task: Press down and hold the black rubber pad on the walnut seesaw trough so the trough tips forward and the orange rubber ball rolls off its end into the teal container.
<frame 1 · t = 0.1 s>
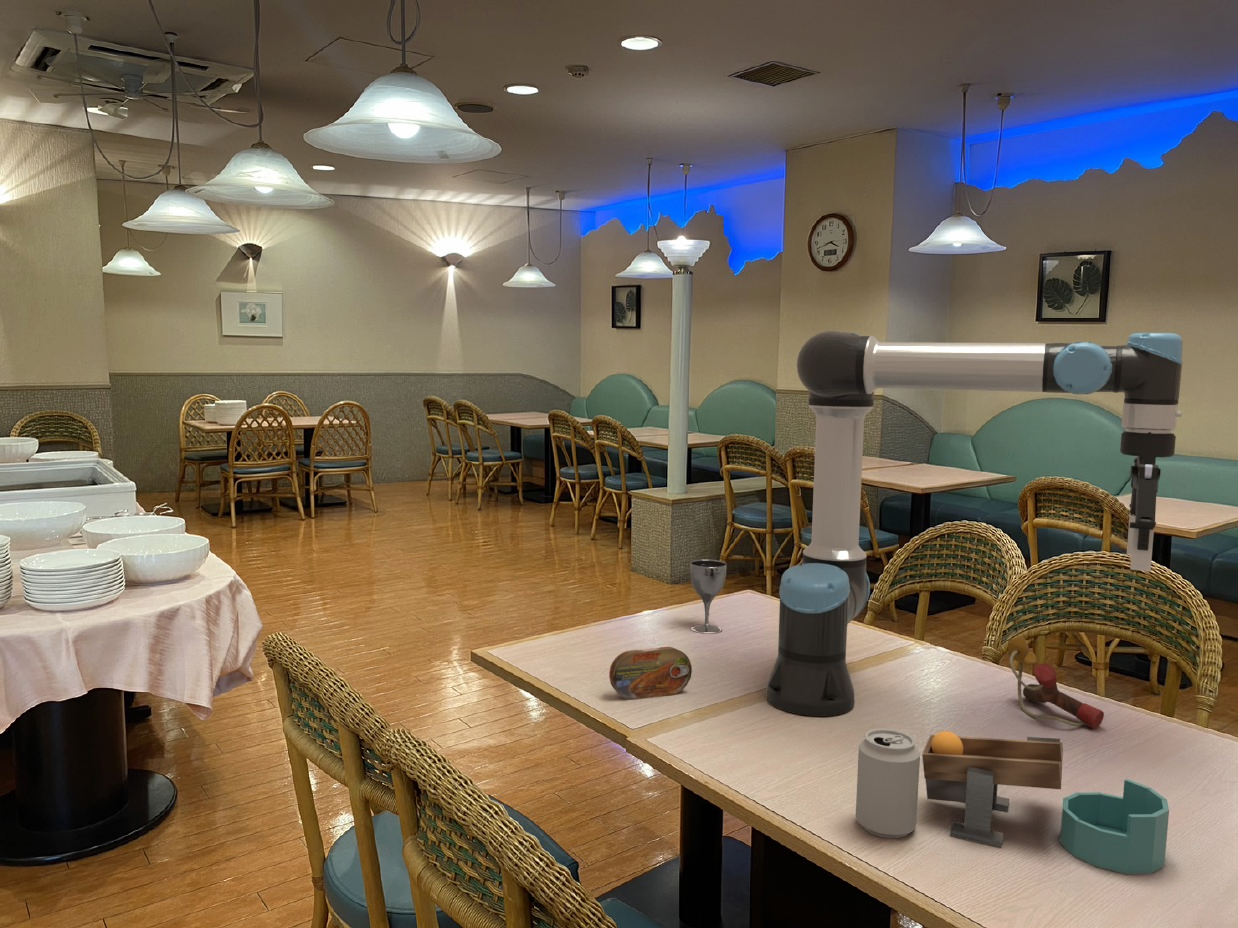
hand: (1138, 562, 147), 28 cm above the table, tool pointing down, fingers open, 13 cm apart
ball: (947, 747, 120), point 9 cm above the table, tilted 11°, touching lever
wine glass: (706, 629, 203), on the table
lever: (994, 763, 120), point 7 cm above the table, hinge at -8.0°, touching ball
slingshot: (1043, 717, 155), on the table
stand: (980, 819, 119), on the table
can: (885, 827, 117), on the table
tin: (649, 695, 162), on the table
teal container: (1110, 848, 112), on the table
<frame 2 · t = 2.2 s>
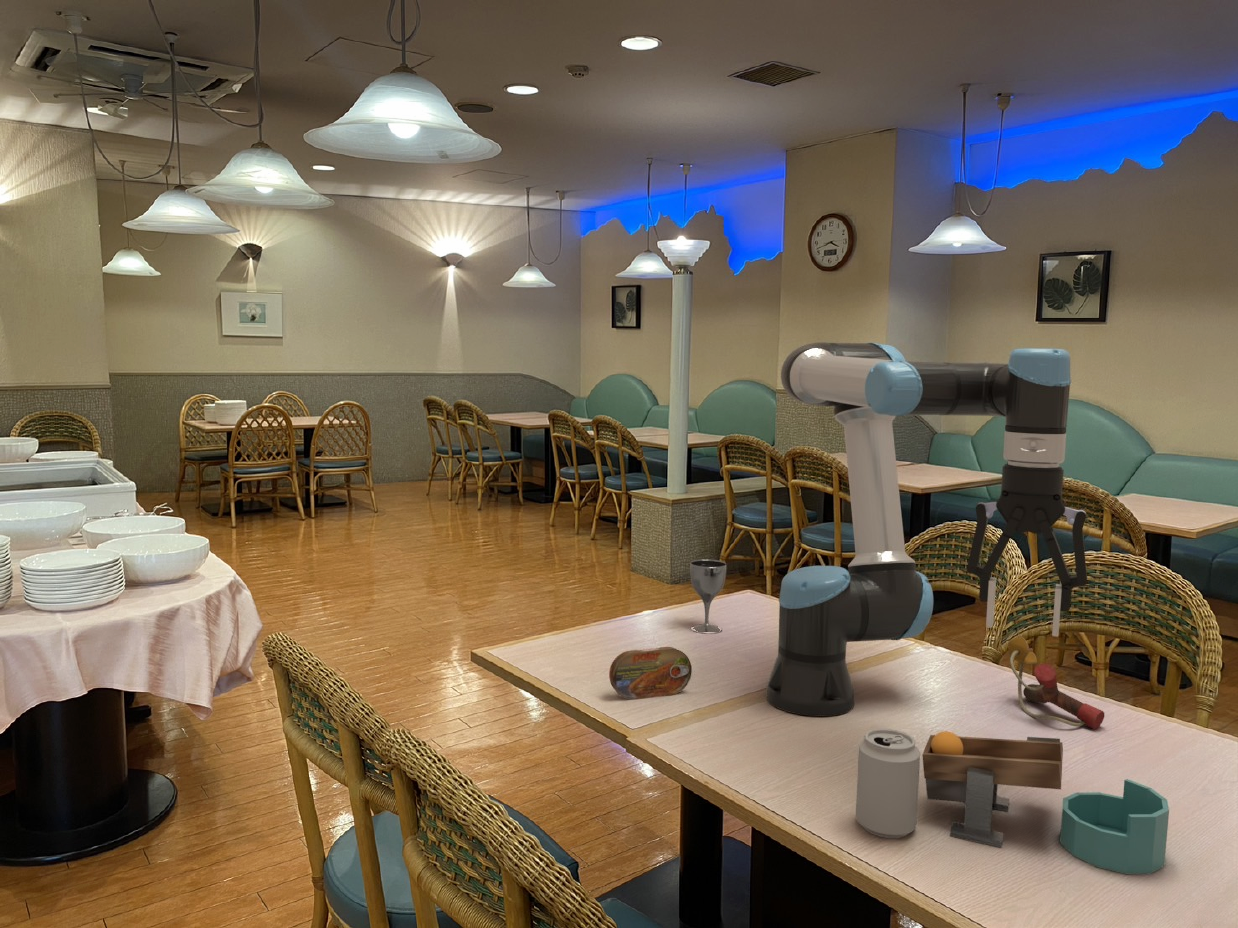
hand: (1022, 629, 125), 23 cm above the table, tool pointing down, fingers open, 8 cm apart
nothing on the table moved.
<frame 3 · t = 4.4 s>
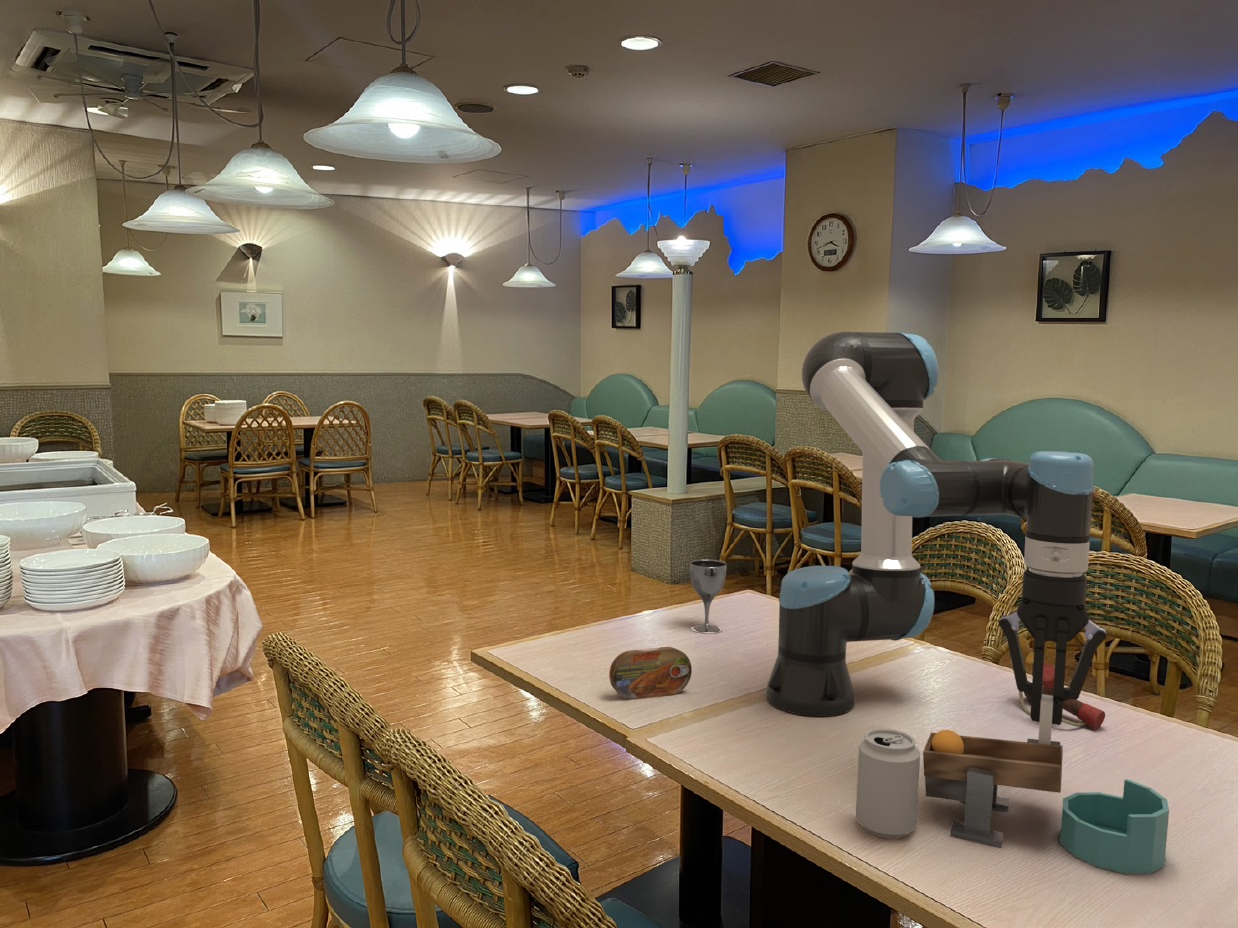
hand: (1044, 745, 121), 9 cm above the table, tool pointing down, fingers closed
lever: (994, 763, 120), point 7 cm above the table, hinge at -5.1°, touching ball, gripper
everything else where it was.
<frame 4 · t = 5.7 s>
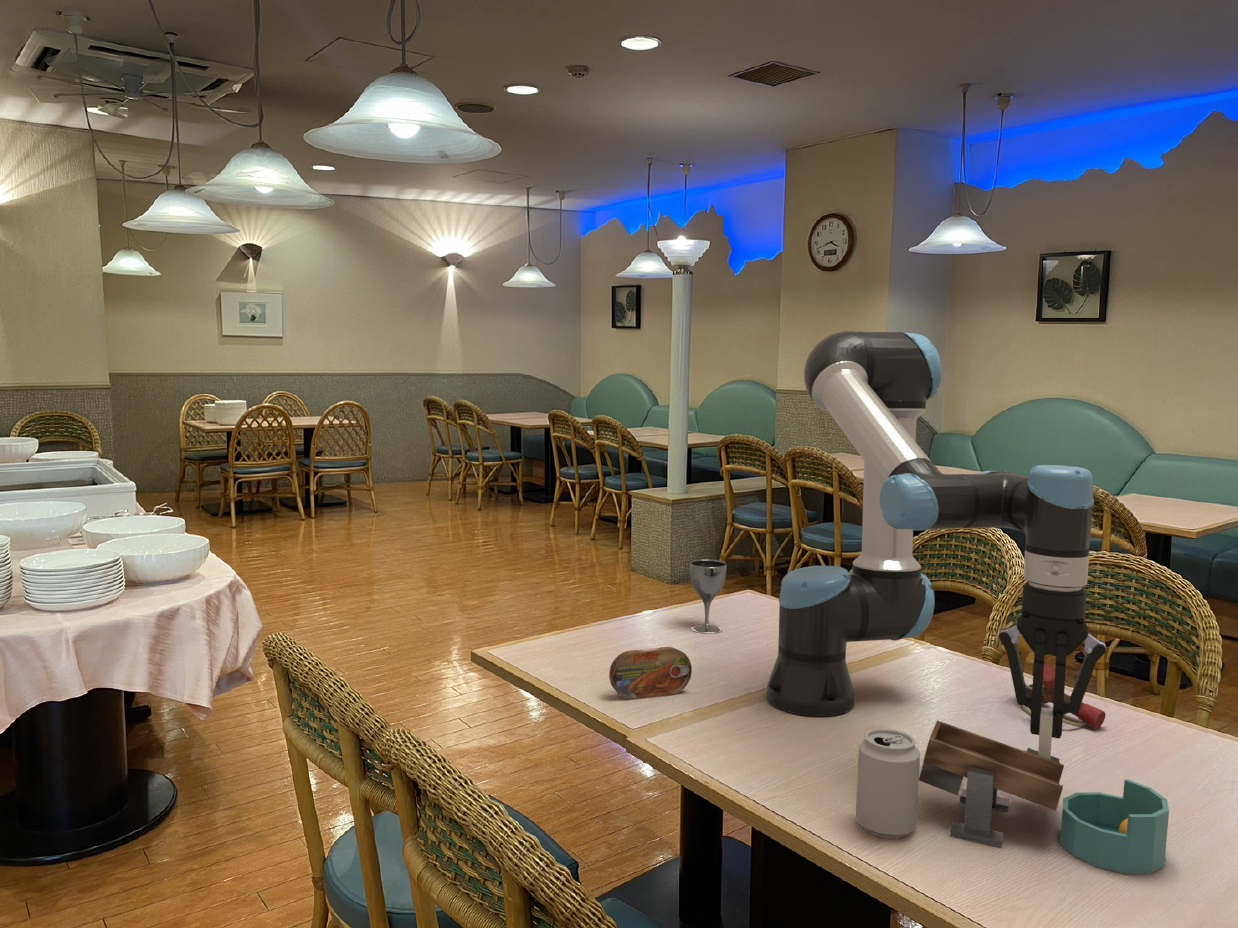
hand: (1044, 758, 121), 7 cm above the table, tool pointing down, fingers closed
ball: (1137, 834, 111), point 2 cm above the table, tilted 44°, touching teal container
lever: (992, 764, 121), point 6 cm above the table, hinge at 10.4°, touching gripper
everything else where it was.
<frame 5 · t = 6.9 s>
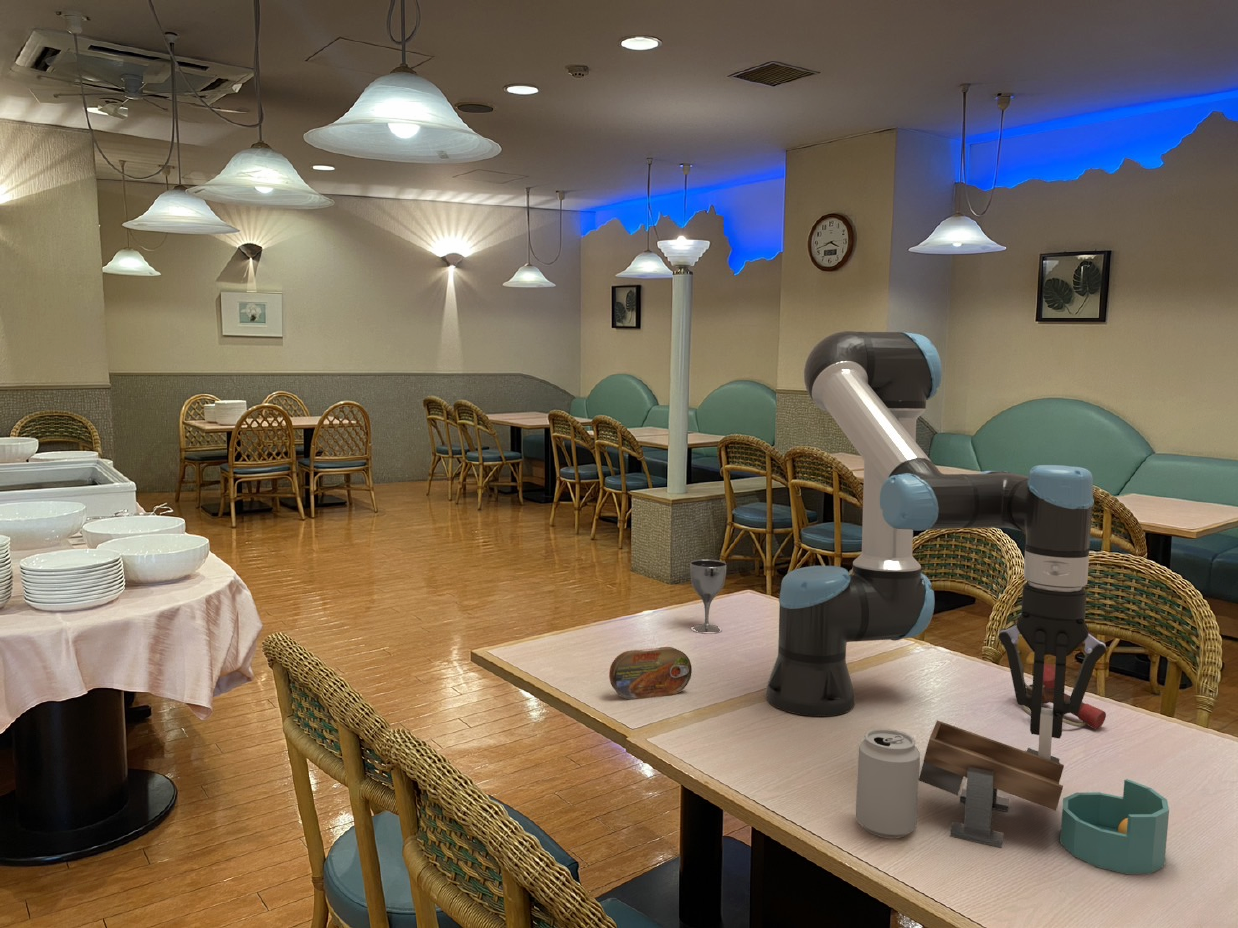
hand: (1044, 758, 121), 7 cm above the table, tool pointing down, fingers closed
nothing on the table moved.
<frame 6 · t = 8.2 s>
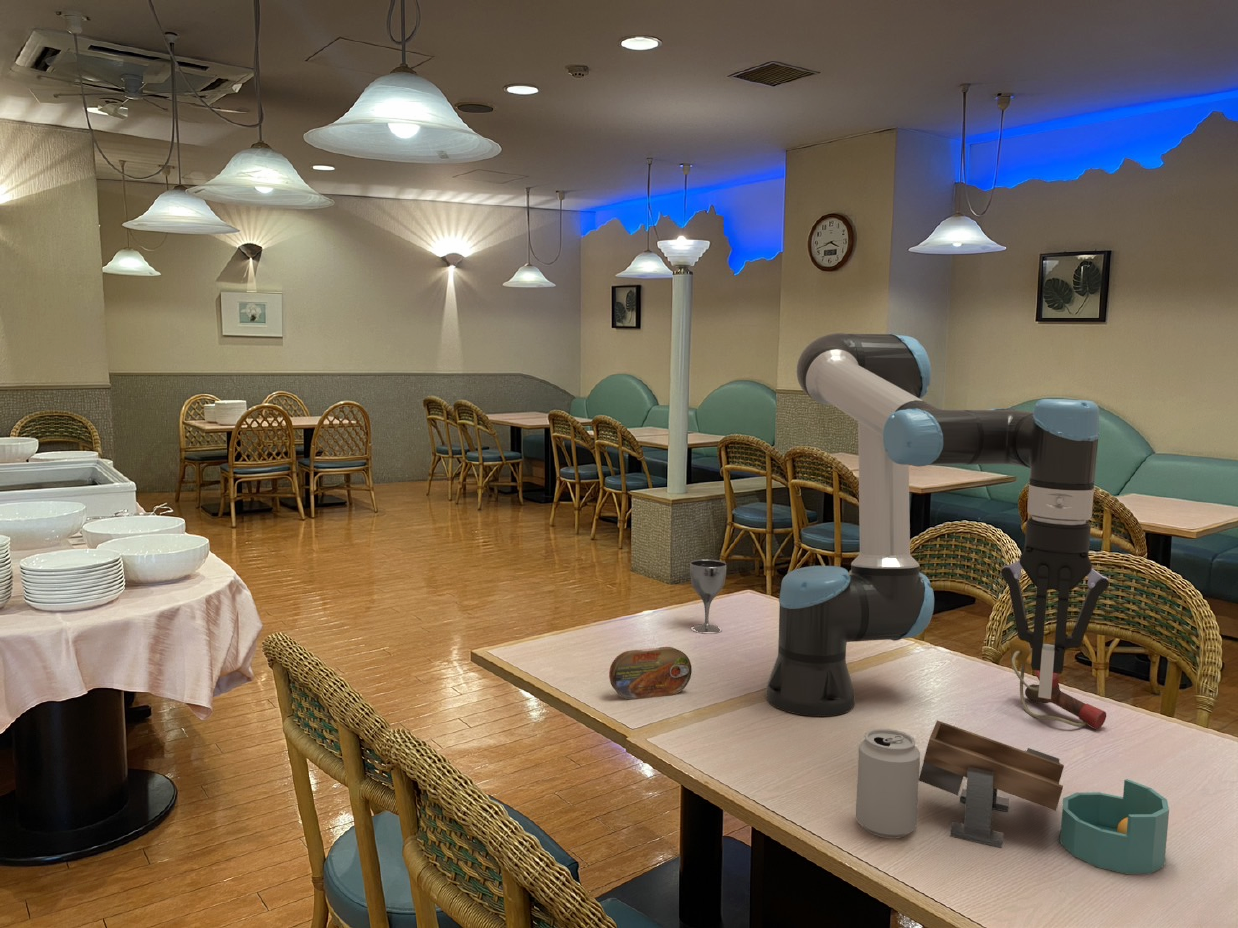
hand: (1044, 694, 120), 16 cm above the table, tool pointing down, fingers closed
lever: (992, 764, 121), point 6 cm above the table, hinge at 10.4°
everything else where it was.
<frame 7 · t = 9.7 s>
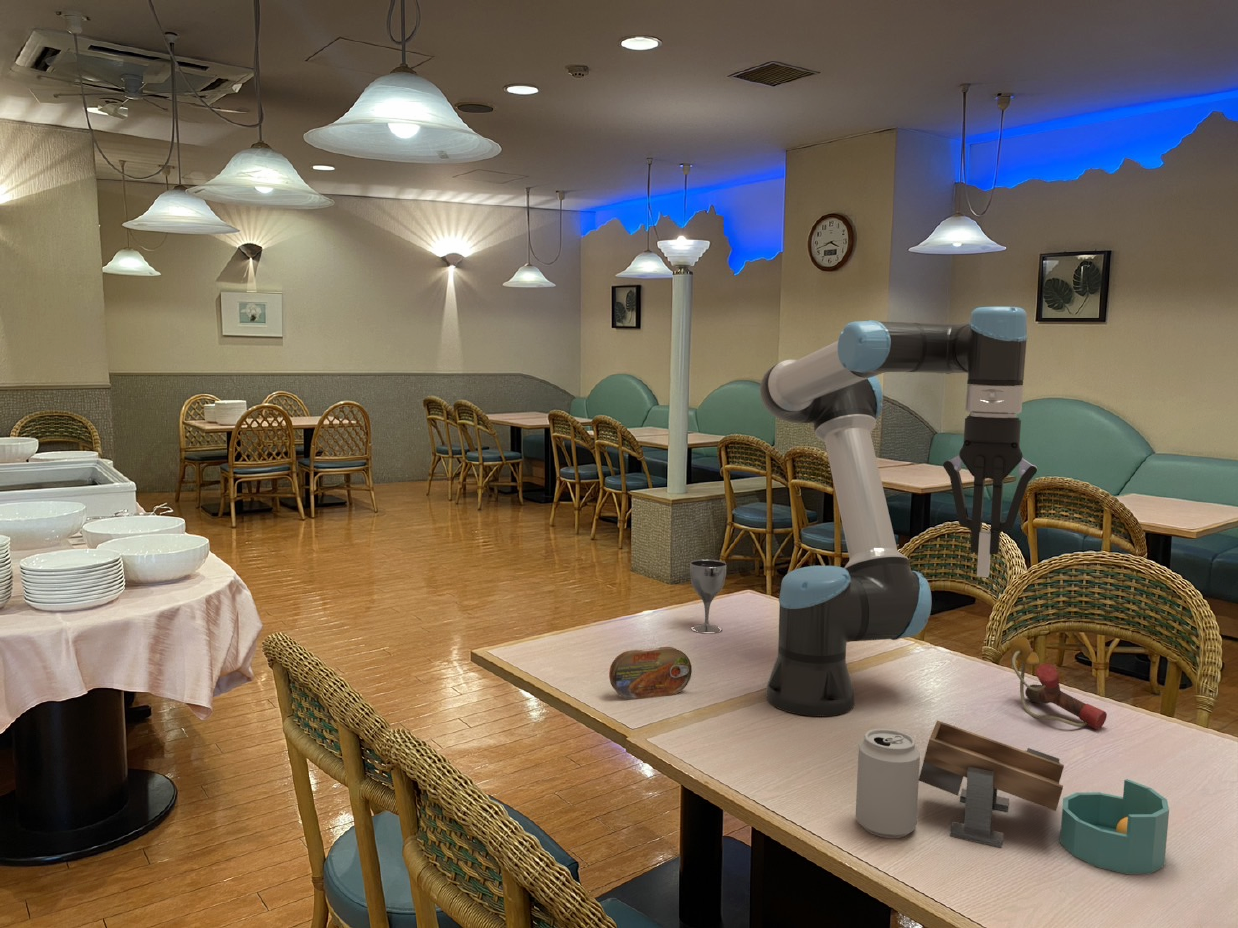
hand: (983, 575, 134), 28 cm above the table, tool pointing down, fingers closed
nothing on the table moved.
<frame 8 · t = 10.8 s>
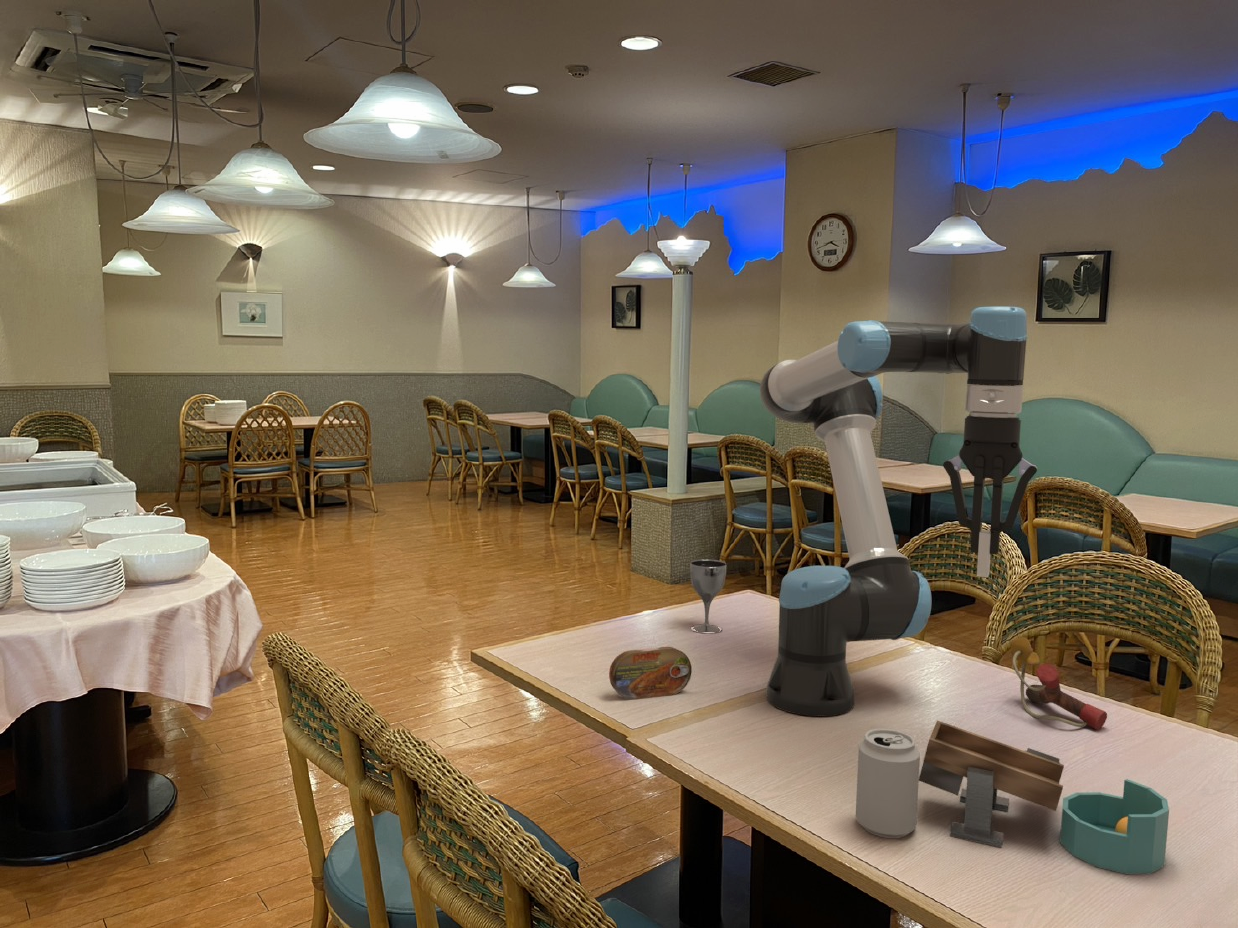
hand: (983, 574, 134), 28 cm above the table, tool pointing down, fingers closed
nothing on the table moved.
at the end: ball inside the target area on the teal container (2.3 cm from its centre), point 2.5 cm above the teal container's base; lever at +10° (first picture: -8°) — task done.
